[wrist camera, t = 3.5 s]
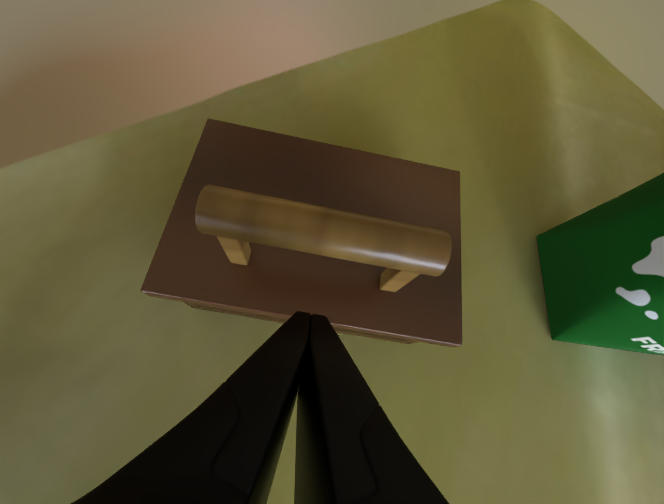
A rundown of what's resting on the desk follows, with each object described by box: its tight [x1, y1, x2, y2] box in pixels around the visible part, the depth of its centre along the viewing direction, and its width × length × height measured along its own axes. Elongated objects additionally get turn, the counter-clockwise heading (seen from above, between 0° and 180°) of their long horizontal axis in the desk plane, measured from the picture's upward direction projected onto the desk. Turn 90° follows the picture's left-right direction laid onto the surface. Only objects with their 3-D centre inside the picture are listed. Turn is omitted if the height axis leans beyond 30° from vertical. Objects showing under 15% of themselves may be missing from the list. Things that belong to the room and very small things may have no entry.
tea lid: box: [141, 119, 462, 347], centre depth 11 cm, size 8×12×5 cm
